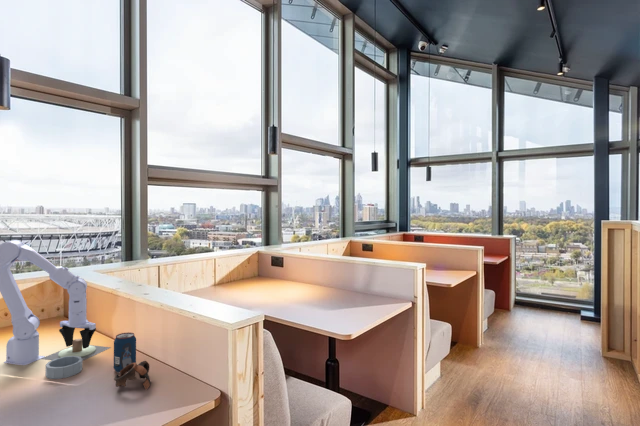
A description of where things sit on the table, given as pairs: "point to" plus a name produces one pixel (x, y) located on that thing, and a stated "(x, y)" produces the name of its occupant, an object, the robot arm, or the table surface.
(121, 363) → the soda can
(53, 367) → the bowl
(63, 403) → the table surface
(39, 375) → the table surface
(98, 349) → the mat
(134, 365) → the brown lumpy object
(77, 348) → the lid
